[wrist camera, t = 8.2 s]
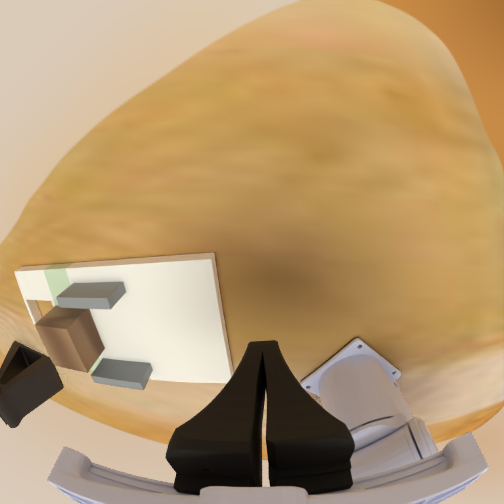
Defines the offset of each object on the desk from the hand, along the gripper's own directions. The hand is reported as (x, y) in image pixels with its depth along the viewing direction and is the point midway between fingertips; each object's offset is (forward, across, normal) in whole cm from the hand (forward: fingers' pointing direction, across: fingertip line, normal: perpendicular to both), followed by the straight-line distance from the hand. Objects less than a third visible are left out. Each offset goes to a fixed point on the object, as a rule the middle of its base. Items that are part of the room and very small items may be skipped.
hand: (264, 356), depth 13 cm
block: (+8, +19, +4) cm, 21 cm away
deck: (+10, +16, +4) cm, 19 cm away
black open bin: (+10, +35, +13) cm, 38 cm away
